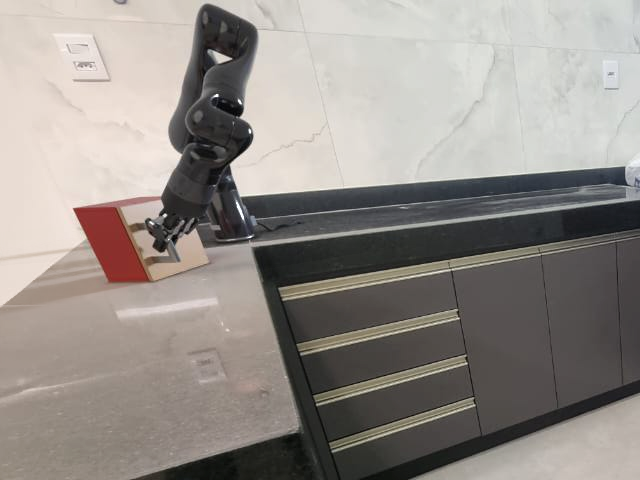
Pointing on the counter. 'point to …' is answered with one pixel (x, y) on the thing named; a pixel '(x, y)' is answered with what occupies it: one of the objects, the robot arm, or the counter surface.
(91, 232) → the red cabinet
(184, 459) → the counter surface
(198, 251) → the wooden cabinet door
